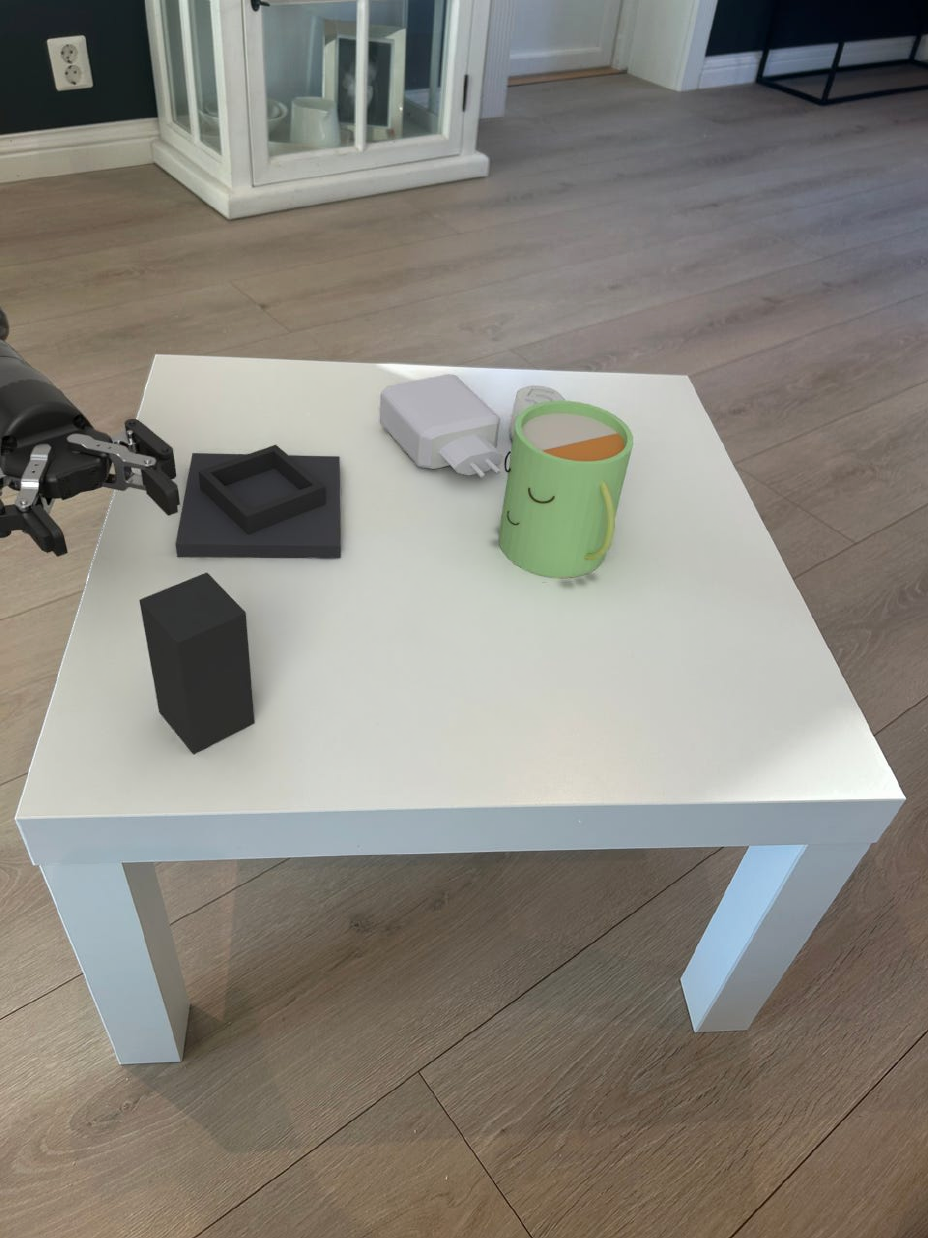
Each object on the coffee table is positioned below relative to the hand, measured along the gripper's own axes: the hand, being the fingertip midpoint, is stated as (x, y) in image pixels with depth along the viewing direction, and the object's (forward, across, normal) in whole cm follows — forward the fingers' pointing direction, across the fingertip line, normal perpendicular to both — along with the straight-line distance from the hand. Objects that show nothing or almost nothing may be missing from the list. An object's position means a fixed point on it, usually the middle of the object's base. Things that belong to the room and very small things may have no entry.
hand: (118, 524), depth 69 cm
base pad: (-8, -17, -11) cm, 21 cm away
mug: (+12, -35, -11) cm, 39 cm away
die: (-3, -47, -11) cm, 48 cm away
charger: (-6, -37, -11) cm, 39 cm away
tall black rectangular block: (+11, 0, -10) cm, 15 cm away
